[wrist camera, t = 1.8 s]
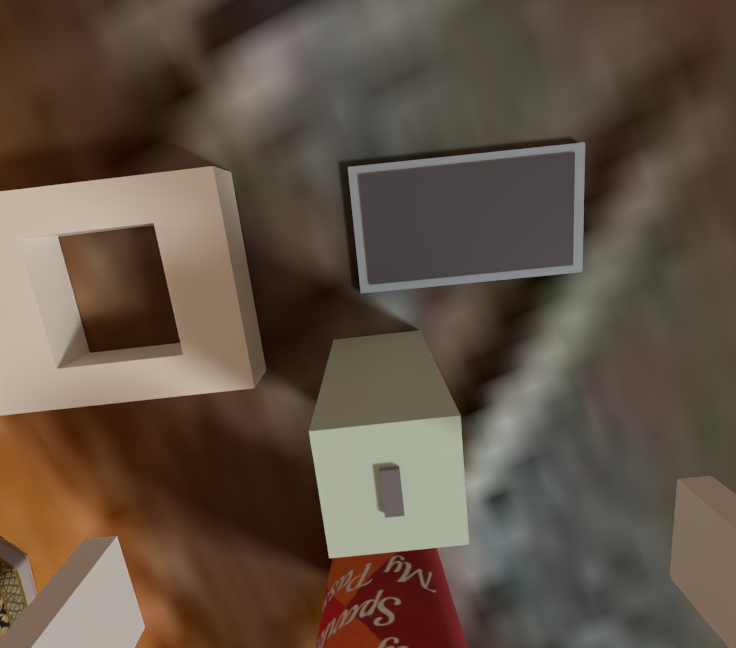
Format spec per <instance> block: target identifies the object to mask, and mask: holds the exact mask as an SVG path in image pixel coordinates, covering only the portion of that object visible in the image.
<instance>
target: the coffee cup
mask: <svg viewBox="0 0 736 648" xmlns="http://www.w3.org/2000/svg"><path fill="white" fill-rule="evenodd" d="M316 648H468V646H467V643H466V640H465V637H464V634H463V631H462V628H461V625H460V622H459V619H458V615H457V612H456V609H455V606H454V603H453V600H452V597H451V594H450V590H449V587H448V584H447V580H446V577H445V574H444V570H443V567H442V564H441V561H440V558H439V555H438V551H437V548H430V549H420V550H410V551H399V552H389V553H379V554H369V555H359V556H349V557H339V558H332V562H331V567H330V572H329V577H328V582H327V588H326V593H325V599H324V604H323V610H322V615H321V621H320V627H319V632H318V638H317V644H316Z"/></svg>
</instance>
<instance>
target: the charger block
mask: <svg viewBox="0 0 736 648" xmlns="http://www.w3.org/2000/svg"><path fill="white" fill-rule="evenodd" d="M309 435H310V441H311V448H312V454H313V460H314V466H315V473H316V479H317V485H318V491H319V498H320V504H321V510H322V517H323V523H324V529H325V535H326V542H327V548H328V554H329V558H339V557H349V556H359V555H369V554H379V553H389V552H399V551H410V550H420V549H430V548H440V547H450V546H460V545H469V535H468V520H467V505H466V490H465V476H464V461H463V446H462V431H461V416H460V413H459V411H458V409H457V407H456V405H455V403H454V401H453V399H452V397H451V395H450V393H449V391H448V388H447V386H446V384H445V382H444V380H443V378H442V376H441V374H440V372H439V370H438V368H437V366H436V364H435V362H434V359H433V357H432V355H431V353H430V351H429V349H428V347H427V345H426V343H425V341H424V339H423V337H422V335H421V332H420V330H417V331H408V332H399V333H390V334H380V335H371V336H362V337H353V338H344V339H335V340H333V344H332V347H331V351H330V355H329V358H328V362H327V366H326V370H325V373H324V377H323V381H322V385H321V388H320V392H319V396H318V399H317V403H316V407H315V411H314V414H313V418H312V422H311V426H310V429H309Z"/></svg>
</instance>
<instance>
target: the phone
mask: <svg viewBox="0 0 736 648" xmlns="http://www.w3.org/2000/svg"><path fill="white" fill-rule="evenodd" d="M584 171H585V142H583V143H573V144H564V145H554V146H544V147H535V148H525V149H516V150H506V151H496V152H487V153H477V154H468V155H458V156H448V157H439V158H429V159H419V160H410V161H400V162H391V163H381V164H371V165H362V166H352V167H348V176H349V186H350V195H351V205H352V215H353V224H354V234H355V243H356V253H357V263H358V272H359V282H360V292H361V293H371V292H381V291H392V290H402V289H412V288H422V287H433V286H443V285H453V284H464V283H474V282H484V281H494V280H505V279H515V278H525V277H535V276H546V275H556V274H566V273H577V272H582V264H583V217H584Z"/></svg>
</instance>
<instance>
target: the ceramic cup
mask: <svg viewBox="0 0 736 648" xmlns="http://www.w3.org/2000/svg"><path fill="white" fill-rule="evenodd" d="M35 593H36V587H35V583H34V579H33V575H32V571H31V567H30V563H29V559H28V556H27V555H26V554H25V553H23V552H22V551H20V550H19V549H17V548H16V547H14V546H13V545H11V544H10V543H8V542H7V541H5V540H4V539H2V538H1V537H0V638H1V637H2V636H3V635H4V633H5V632H6V631H7V630H8V629H9V628H10V626H11V625H12V624H13V623H14V622H15V621H16V619H17V618H18V617H19V616H20V615H21V614H22V612H23V611H24V610H25V609H26V608H27V607H28V605H29V604H30V603H31V602H32V601H33V600H34V598H35Z"/></svg>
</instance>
